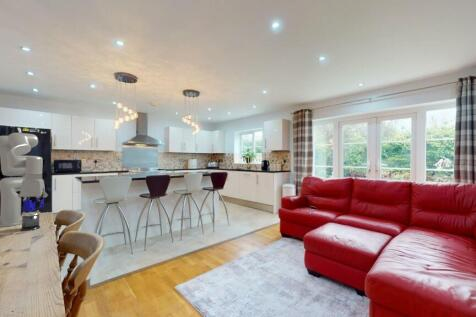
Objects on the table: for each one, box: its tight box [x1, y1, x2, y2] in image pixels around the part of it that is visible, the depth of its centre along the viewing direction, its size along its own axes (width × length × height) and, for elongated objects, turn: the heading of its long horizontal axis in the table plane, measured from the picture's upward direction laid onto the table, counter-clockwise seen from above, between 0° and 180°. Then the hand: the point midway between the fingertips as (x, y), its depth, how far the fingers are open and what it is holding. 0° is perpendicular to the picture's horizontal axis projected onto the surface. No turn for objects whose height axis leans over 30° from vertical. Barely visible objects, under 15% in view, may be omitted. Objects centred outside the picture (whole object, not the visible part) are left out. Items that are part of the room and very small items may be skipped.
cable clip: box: [22, 198, 45, 212], centre depth 132 cm, size 12×4×6 cm, turn 10°
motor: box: [20, 209, 41, 232], centre depth 141 cm, size 9×9×11 cm
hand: (32, 207), depth 132 cm, fingers closed on cable clip, 4 cm apart
